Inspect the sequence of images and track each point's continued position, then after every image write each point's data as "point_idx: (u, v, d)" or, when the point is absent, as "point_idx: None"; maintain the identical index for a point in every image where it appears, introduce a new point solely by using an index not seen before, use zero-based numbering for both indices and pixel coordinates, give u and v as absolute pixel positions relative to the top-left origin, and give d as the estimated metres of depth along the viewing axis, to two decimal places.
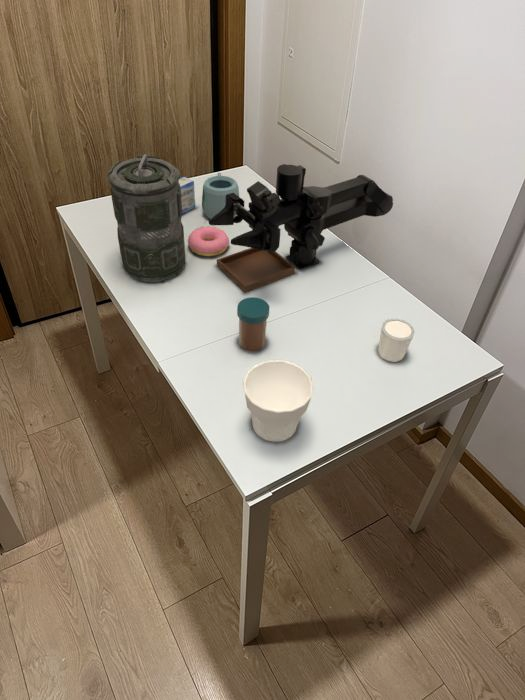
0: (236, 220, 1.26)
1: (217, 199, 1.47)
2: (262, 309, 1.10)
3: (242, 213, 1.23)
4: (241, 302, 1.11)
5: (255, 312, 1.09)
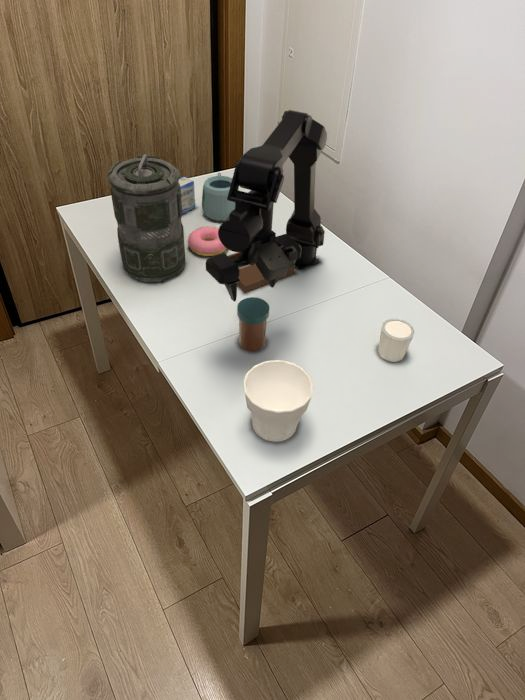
0: None
1: (217, 199, 1.47)
2: (262, 309, 1.10)
3: None
4: (241, 302, 1.11)
5: (255, 312, 1.09)
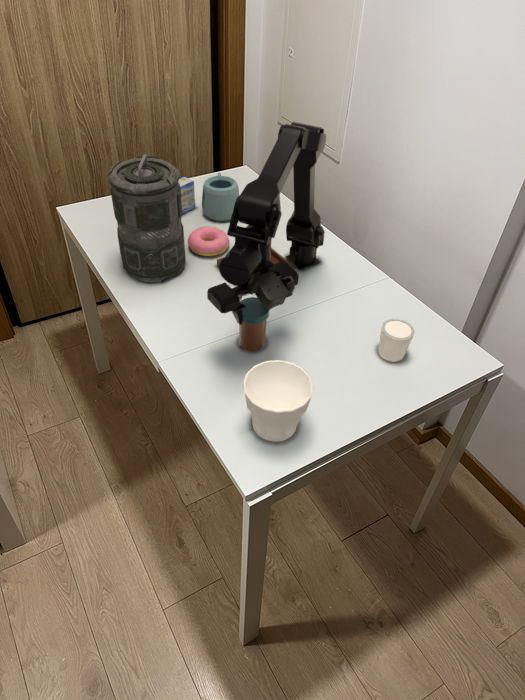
0: None
1: (217, 199, 1.47)
2: (262, 309, 1.10)
3: None
4: None
5: (255, 312, 1.09)
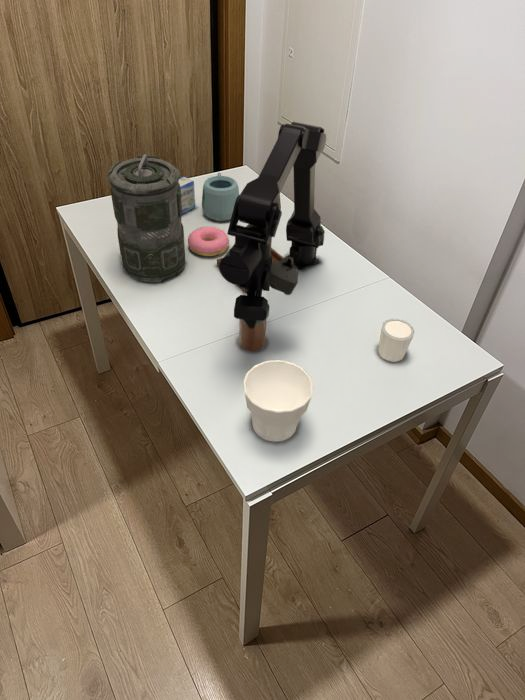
0: None
1: (217, 199, 1.47)
2: None
3: None
4: None
5: None
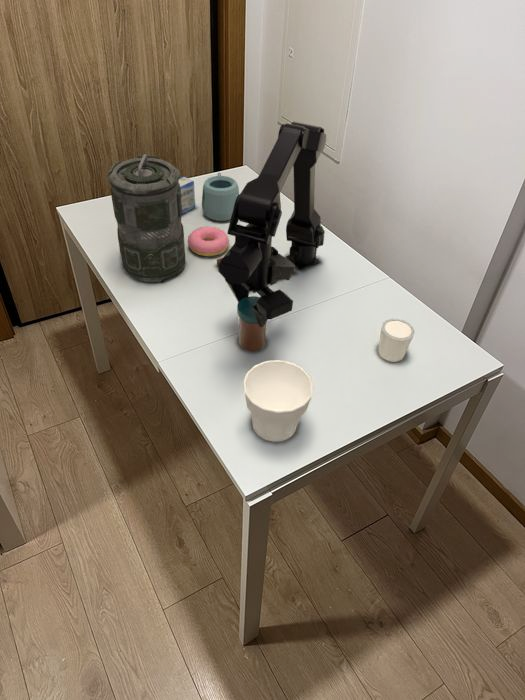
0: None
1: (217, 199, 1.47)
2: (256, 300, 1.11)
3: None
4: (246, 313, 1.08)
5: None
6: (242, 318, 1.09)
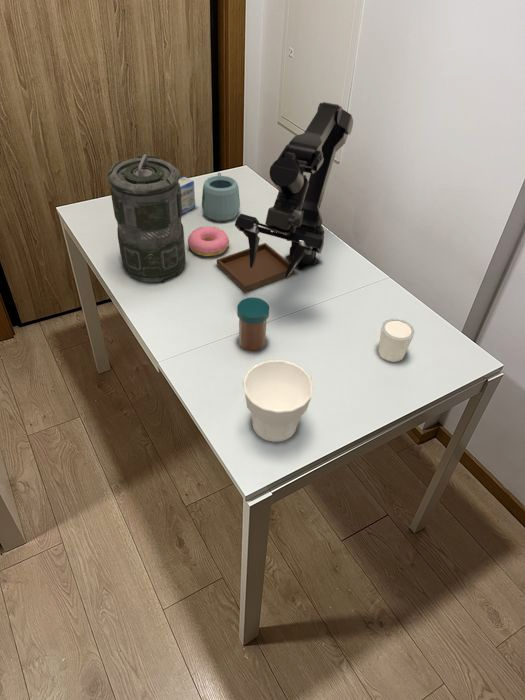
0: None
1: (217, 199, 1.47)
2: (251, 301, 1.12)
3: (263, 230, 1.13)
4: (253, 316, 1.08)
5: (259, 303, 1.11)
6: (250, 322, 1.09)
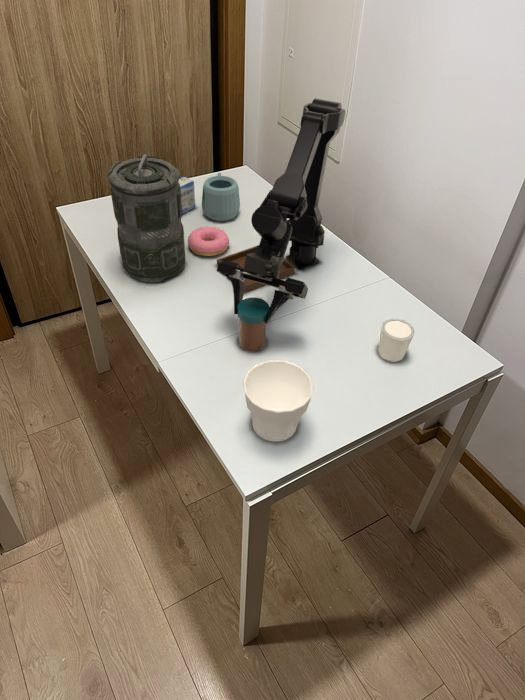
0: None
1: (217, 199, 1.47)
2: (251, 301, 1.12)
3: (246, 276, 1.11)
4: (253, 316, 1.08)
5: (259, 303, 1.11)
6: (250, 322, 1.09)
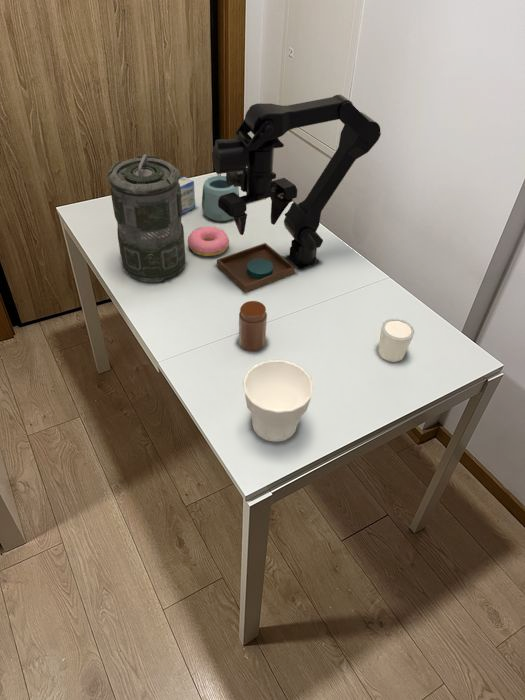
0: None
1: (217, 199, 1.47)
2: (267, 267, 1.34)
3: None
4: (250, 262, 1.35)
5: (261, 269, 1.33)
6: None
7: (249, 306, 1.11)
